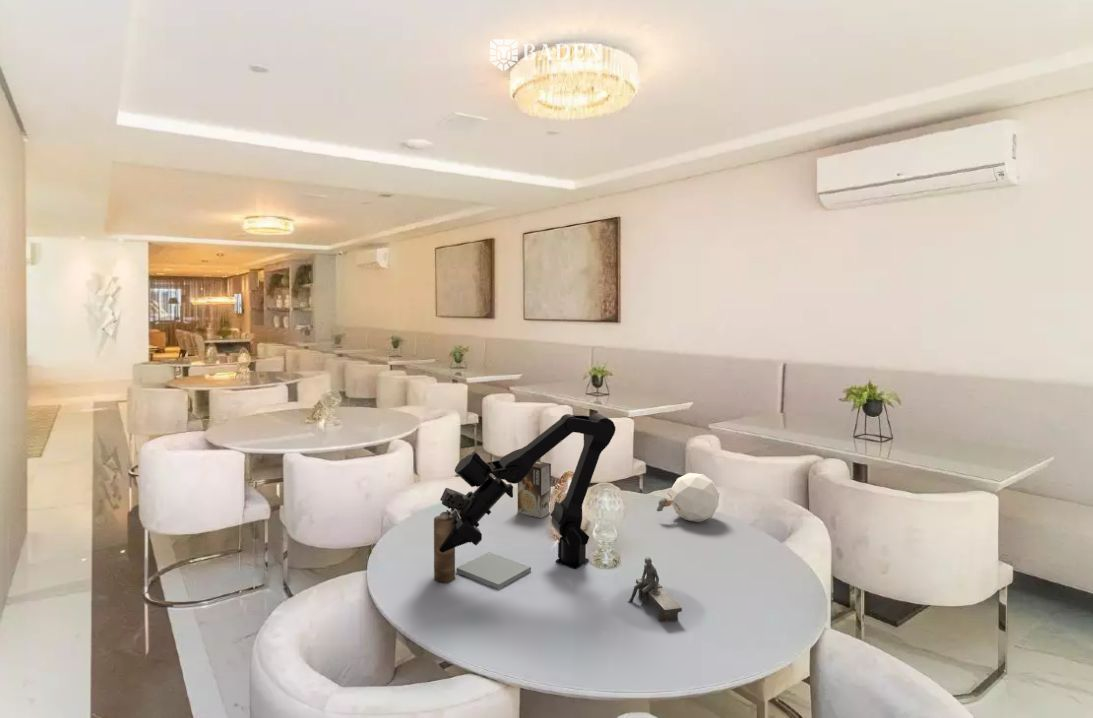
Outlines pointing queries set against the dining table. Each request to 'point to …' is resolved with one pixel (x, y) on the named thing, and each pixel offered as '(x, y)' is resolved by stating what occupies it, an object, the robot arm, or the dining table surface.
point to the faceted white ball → (693, 497)
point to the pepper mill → (445, 560)
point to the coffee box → (535, 491)
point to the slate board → (493, 570)
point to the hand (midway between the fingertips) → (438, 546)
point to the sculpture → (656, 593)
